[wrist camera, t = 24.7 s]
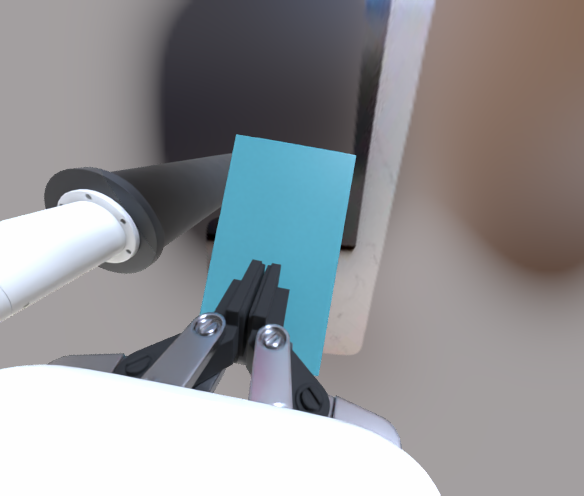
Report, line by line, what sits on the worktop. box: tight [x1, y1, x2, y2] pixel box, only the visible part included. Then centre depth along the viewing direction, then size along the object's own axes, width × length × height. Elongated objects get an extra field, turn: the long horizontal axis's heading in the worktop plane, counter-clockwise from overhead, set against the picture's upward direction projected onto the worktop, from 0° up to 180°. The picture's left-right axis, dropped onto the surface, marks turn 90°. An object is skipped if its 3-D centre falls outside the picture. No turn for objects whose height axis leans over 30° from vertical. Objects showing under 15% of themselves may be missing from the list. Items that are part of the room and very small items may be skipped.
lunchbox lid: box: [200, 135, 356, 376], centre depth 15 cm, size 18×10×5 cm, turn 170°
